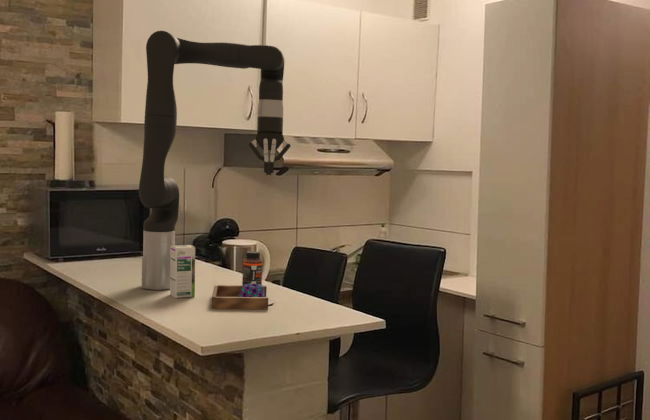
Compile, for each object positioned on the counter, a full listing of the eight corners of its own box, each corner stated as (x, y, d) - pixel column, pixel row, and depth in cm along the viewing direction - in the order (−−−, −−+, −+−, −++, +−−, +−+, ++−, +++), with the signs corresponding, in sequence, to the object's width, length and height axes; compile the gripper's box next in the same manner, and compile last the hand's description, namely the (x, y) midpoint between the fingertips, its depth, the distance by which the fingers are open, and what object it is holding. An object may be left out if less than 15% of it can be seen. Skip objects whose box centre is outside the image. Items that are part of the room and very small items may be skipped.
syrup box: (175, 298, 204) (175, 247, 203) (169, 294, 209) (170, 244, 208) (194, 297, 207) (195, 246, 206) (188, 293, 212) (189, 243, 211)
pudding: (278, 307, 198) (278, 288, 198) (234, 309, 195) (235, 290, 194) (268, 298, 210) (268, 280, 209) (227, 300, 206) (227, 281, 206)
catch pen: (211, 308, 193) (211, 297, 193) (214, 295, 210) (214, 285, 210) (268, 309, 195) (268, 298, 195) (266, 295, 212) (266, 285, 212)
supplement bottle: (258, 291, 219) (259, 253, 218) (239, 289, 220) (240, 252, 219) (264, 287, 225) (265, 251, 224) (245, 286, 226) (246, 250, 225)
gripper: (247, 114, 210) (246, 174, 211) (293, 116, 211) (291, 176, 213) (247, 115, 217) (246, 173, 219) (291, 117, 219) (290, 175, 220)
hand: (268, 174), depth 216 cm, fingers closed
